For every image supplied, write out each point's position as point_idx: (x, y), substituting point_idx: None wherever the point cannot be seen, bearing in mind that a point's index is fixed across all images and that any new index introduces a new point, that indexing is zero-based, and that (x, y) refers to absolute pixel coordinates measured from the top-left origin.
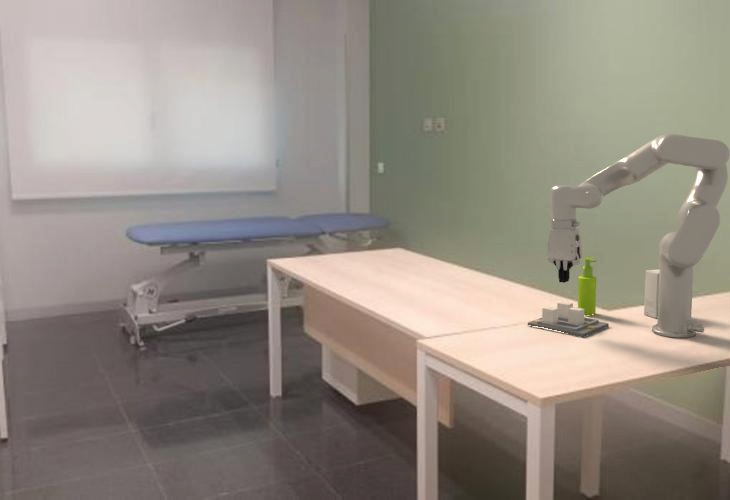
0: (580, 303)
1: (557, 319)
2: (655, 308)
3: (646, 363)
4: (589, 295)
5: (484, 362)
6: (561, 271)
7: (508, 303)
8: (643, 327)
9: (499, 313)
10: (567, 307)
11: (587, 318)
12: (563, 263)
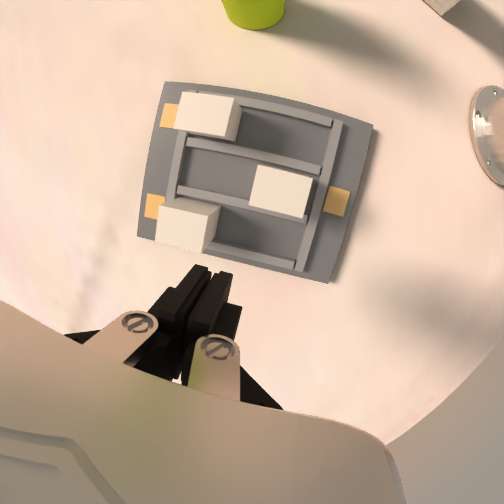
0: (235, 9)
1: (217, 212)
2: (451, 4)
3: (445, 373)
4: None
5: None
6: (178, 372)
7: (42, 55)
8: (447, 103)
9: (45, 150)
10: (224, 137)
11: (302, 118)
12: (134, 358)
